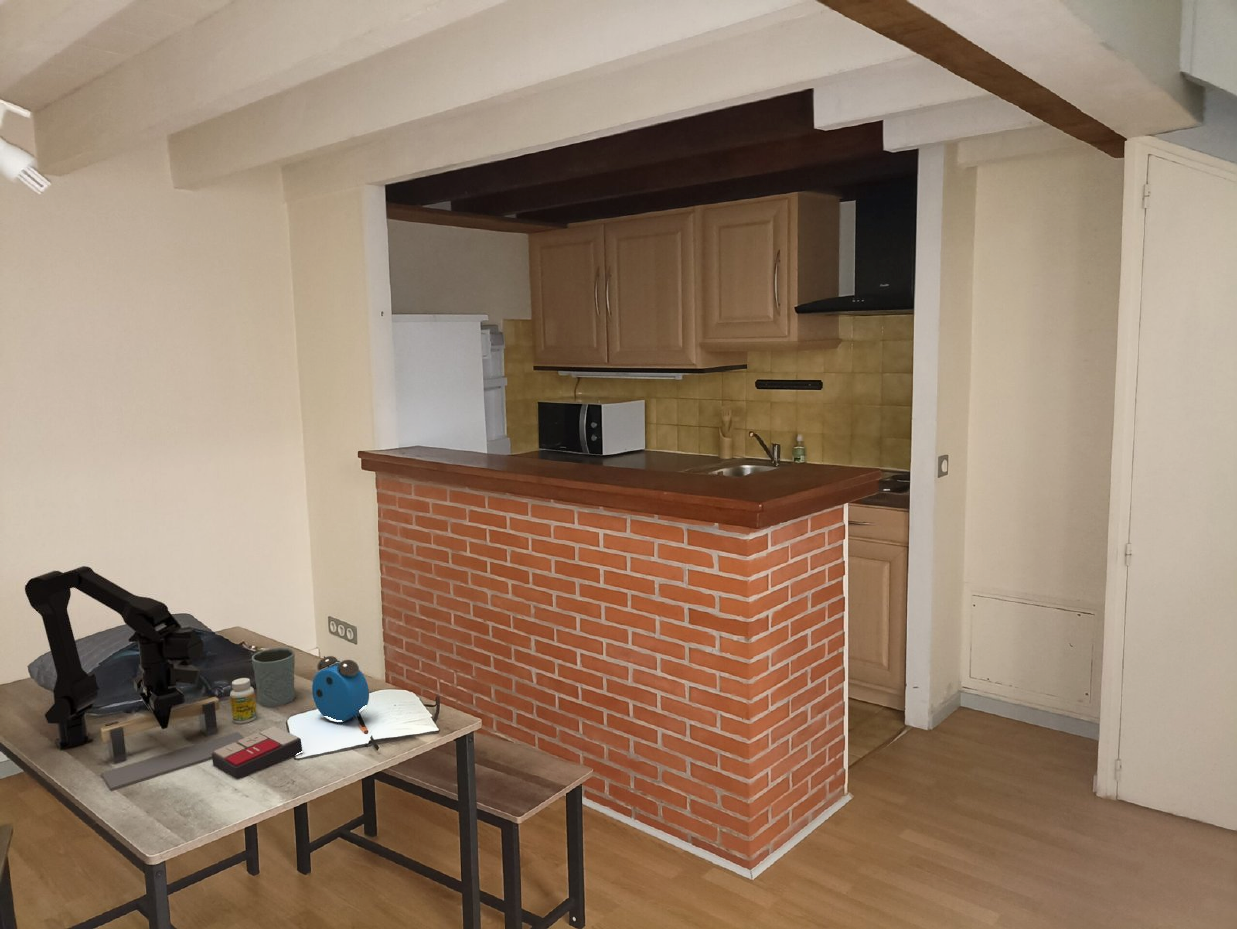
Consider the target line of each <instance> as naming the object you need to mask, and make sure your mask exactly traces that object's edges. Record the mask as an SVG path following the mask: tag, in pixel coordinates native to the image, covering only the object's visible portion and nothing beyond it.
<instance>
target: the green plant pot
mask: <svg viewBox="0 0 1237 929" xmlns="http://www.w3.org/2000/svg"><path fill="white" fill-rule="evenodd" d="M295 656H296V655H295V650H294V649H292V648H288V647H274V648H267V649H264V650H261V651H258V652H255V653H254V654H253V655H252V656H251V663H252V668H253V674H254V681H255V686H256V694H257V702H258V704H259V706H262V707H264V708H265V707H267V708H273V707H279V706H283V705H287V704H289V703H291V702H292V701H293V700H294V699H295V697H296V696H295V695H296V694H295V692H296V691H295V664H296V663H295V662H296V660H295Z"/></svg>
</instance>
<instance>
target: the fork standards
mask: <svg viewBox="0 0 1237 929" xmlns="http://www.w3.org/2000/svg"><path fill="white" fill-rule="evenodd" d="M208 698H210V696H204V697H199V698H196V702H197V701H201V700H205V699H208ZM202 707H203V714H201V715H198V719H199V728H200V731H201V732H202V734H204V735H205V736H206V737H210V736H213V735H215V734H216V735H217V734H218V732H219V731H218V724H217V723H218V722H217V714H216V711H215V703H214V701H212V702H208V703H204V704H202ZM117 723H120V722H119V721H118V720H116V721H112V722H108V723H105V724H104V725H105V727H106V726H110V725H113V724H117ZM110 738H111V740H109V741H107V748H108V755H109V758H110V759H111V761H112V762H113V764H114V765H115V764H120V763H122V762H123V763H124V762H126V761H127V759H128V758H127V752H126V751H127V750H126V744H125V741H126V740H125V736H124V733H123V727H122V726H121V727H117V728H114V729H110Z"/></svg>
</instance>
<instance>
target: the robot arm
mask: <svg viewBox="0 0 1237 929" xmlns="http://www.w3.org/2000/svg"><path fill="white" fill-rule="evenodd" d="M71 589H76V590H78V591H80V592H81V593H83V594H85V595H86V596H88V597H90V598H92V599H93V600H95V601H97V602H98V603H100V604H102V605H104V606H105V607H107V608H108V609H110V610H113V611H114V612H116V613H118V614H119V615H120V616H121V618H122V621H123V623H124V624H126V625H127V626H128V627H129V628H131V629H132V630H133V631H134V632H133V634H132V635H131V636H130V637H129V638H128V642H130V643H138V650H139V659H140V663H139V664H138V669H139V671H141V674H137V675H136V676H135V678H134V679H132V681H133V686H134V689H135V691H137V692H138V691H141V689H142V690H143V691H142V692H141V693H139V697H140V698H141V700H142V701H143V703H144V705H145V706H146V707H147V709H148V711H149V712H150V714H154V716H155V718H156V719H157V721H158V723H159V725H160V726H159V727H160V728H161V729H162V730H166V729H168V727H169V724H168V723H169V718H170V712H171V709H172V708H173V707H175V706H176V707H177V706H178V705H179V706H180V705H184V703H185V702H186V701H185V700H186V699H185V693H183V691H182V690H181V689H179V688H177V687H175V686H177V685H178V684H177V683H181V684H182V683H183V684H190V685H196V684H197V681H198V677H199V674H200V669H199V668H198V667H196V666H195V665H193V664H190V663H189V662H196V661H198V660H199V659H200V658H201V656H202V654H203V652H204V641H203V640H202V637H201V636H200V635H199V634H197V632H196V629H193V628H191V629H182V625H181V624H180V623H179V622H178V620H177V619H176V618H175V617H174V615H172V613H171V612H170V611H169V608H168V606H167V605H166V604H165V603H164V602H162V601H159V600H158V599H157V600H156V599H154V598H151V597H147V596H139V595H136V594H133V593H132V592H130V591H128V590H126V589H124V588H123V587H121V586H120V585H118V584H116V583H114V582H112V581H111V580H109V579H108V578H106V577H104V576H102V575H100V574H98V573H97V572H95V571H94V570H93V569H92V567H90V566H85V565H83V566H79V567H76V568H73V569H71V570H67V571H65V572H62V571H59V570H52V571H50V572H47V573H44V574H41V575H38V576H35V577H32V578H30V579H29V580H28V581H27V583H26V584H25V585H24V592H25V595H26V597H27V599H28V600H27V601H28V602H29V605H30V607H31V608H32V609H34V610H35V611H36V612H37V613H38V614H39V615H40V617H41V618H42V622H43V626H44V630H45V633H46V639H47V641H48V646H49V648H50V653H51V654H50V655H51V657H52V660H53V661H52V662H53V665H54V668H55V673H56V680H55V684H54V687H53V700H54V702H53V704H52V706H51V707H50V708H49V709H48V710H47V711H46V712H45V714H44V717H45V720H46V721H47V724H55V725H56V727H57V734H58V738H55V743H56V745H57V746H58V748H59V750H65V749H68V748H73V747H77V746H78V745H79V746H80V745H83V744H86V743H89V742H93V737H92V735H91V734H90V732H89V731H88V724H87V716H86V712H88V711H90V710H92V709H93V707H94V704H95V701H96V700H97V698H98V696H99V695H98V694H99V692H98V691H100V690H101V689H100V688H99V685H98V684H97V677H96V675H95V673H91V674H88V673H87V672H86V670H84V669H83V667H82V662H81V659H80V655H79V651H78V648H77V643H76V640H75V637H74V636H75V635H74V632H73V628H72V623H71V619H70V617H69V612H68V606H69V603H70V600H71V596H72V595H71V594H72V592H71ZM163 626H164V627H163ZM161 627H163V628H161ZM159 628H160V629H159ZM157 629H158V630H157ZM171 661H172V662H171ZM173 661H174V663H173ZM175 661H176V662H175ZM169 687H170V688H169Z"/></svg>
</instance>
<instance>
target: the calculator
mask: <svg viewBox="0 0 1237 929" xmlns="http://www.w3.org/2000/svg"><path fill="white" fill-rule="evenodd" d="M301 751H303V746H302V739H301V738H300V737H298V736H296V735H295V734H292V733H290V732H288V731H286V730H285V729H282V728H280V727H278V726H275V725H273V726H271V727H269V728H266V729H264V730H261V731H260V732H255V733H253V734H251V735H248V736H246V737H244V738H243V739H241V740H239V741H238V743H235V742H234V743H232V744H229V745H227V746H225V747H222V748H220V749H218V750H215V751H214V753H212V759H211V760H212V765H213V767H215V768H217V769H218V770H220V771H222V772H224V773H225V774H227V775H229V776H230V777H232V778H233V779H235V780H240V779H243V778H245V777H248V776H250V775H253V774H255V773H257V772H260V771H262V770H266V769H267V768H269V767H271V766H273V765H276V764H277V763H280V762H282V761H287V760H289V759H292V758H294V757H296V756H295V755H296V754H297V753H299V752H301Z"/></svg>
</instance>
